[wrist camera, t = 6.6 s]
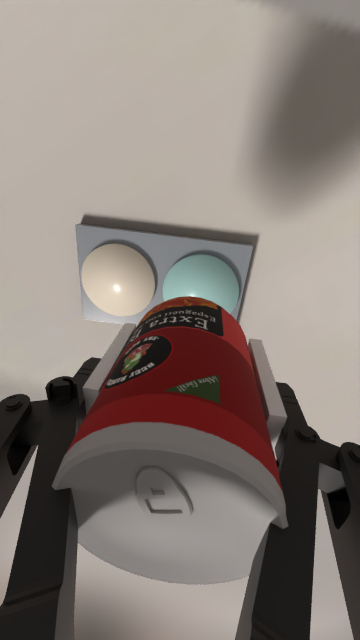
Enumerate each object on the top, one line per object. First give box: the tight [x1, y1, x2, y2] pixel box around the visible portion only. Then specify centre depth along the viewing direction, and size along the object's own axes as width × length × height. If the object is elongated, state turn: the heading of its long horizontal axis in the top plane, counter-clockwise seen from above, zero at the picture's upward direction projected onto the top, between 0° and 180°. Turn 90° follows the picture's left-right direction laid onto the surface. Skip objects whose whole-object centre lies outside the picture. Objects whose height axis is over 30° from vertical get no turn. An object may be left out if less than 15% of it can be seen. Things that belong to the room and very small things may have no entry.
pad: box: [163, 254, 239, 314], centre depth 31 cm, size 9×9×1 cm
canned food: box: [52, 296, 288, 584], centre depth 13 cm, size 8×8×11 cm
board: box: [76, 224, 253, 327], centre depth 31 cm, size 20×12×2 cm, turn 84°
